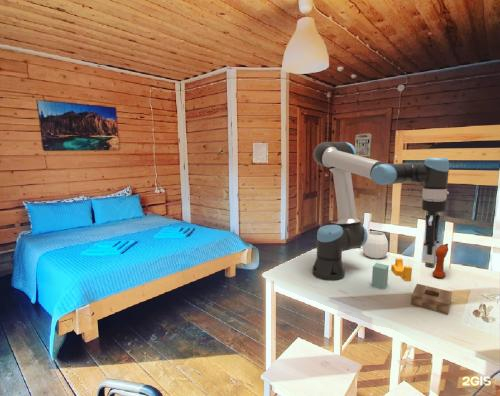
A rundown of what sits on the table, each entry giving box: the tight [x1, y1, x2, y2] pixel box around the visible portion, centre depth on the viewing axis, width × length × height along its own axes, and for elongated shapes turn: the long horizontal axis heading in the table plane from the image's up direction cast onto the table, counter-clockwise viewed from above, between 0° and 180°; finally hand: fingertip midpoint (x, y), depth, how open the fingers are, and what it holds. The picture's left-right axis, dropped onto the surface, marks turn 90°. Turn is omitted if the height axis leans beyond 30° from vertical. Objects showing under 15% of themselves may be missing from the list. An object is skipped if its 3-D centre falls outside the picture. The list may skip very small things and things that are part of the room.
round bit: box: [424, 241, 437, 269], centre depth 110 cm, size 3×3×10 cm
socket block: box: [410, 283, 453, 315], centre depth 113 cm, size 12×12×4 cm
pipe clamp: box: [390, 257, 413, 282], centre depth 138 cm, size 12×4×6 cm, turn 174°
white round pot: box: [362, 230, 389, 260], centre depth 163 cm, size 13×13×14 cm
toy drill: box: [432, 243, 449, 279], centre depth 140 cm, size 5×19×15 cm, turn 137°
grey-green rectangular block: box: [371, 262, 389, 290], centre depth 128 cm, size 5×5×9 cm
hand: (430, 260), depth 110 cm, fingers closed on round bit, 3 cm apart
